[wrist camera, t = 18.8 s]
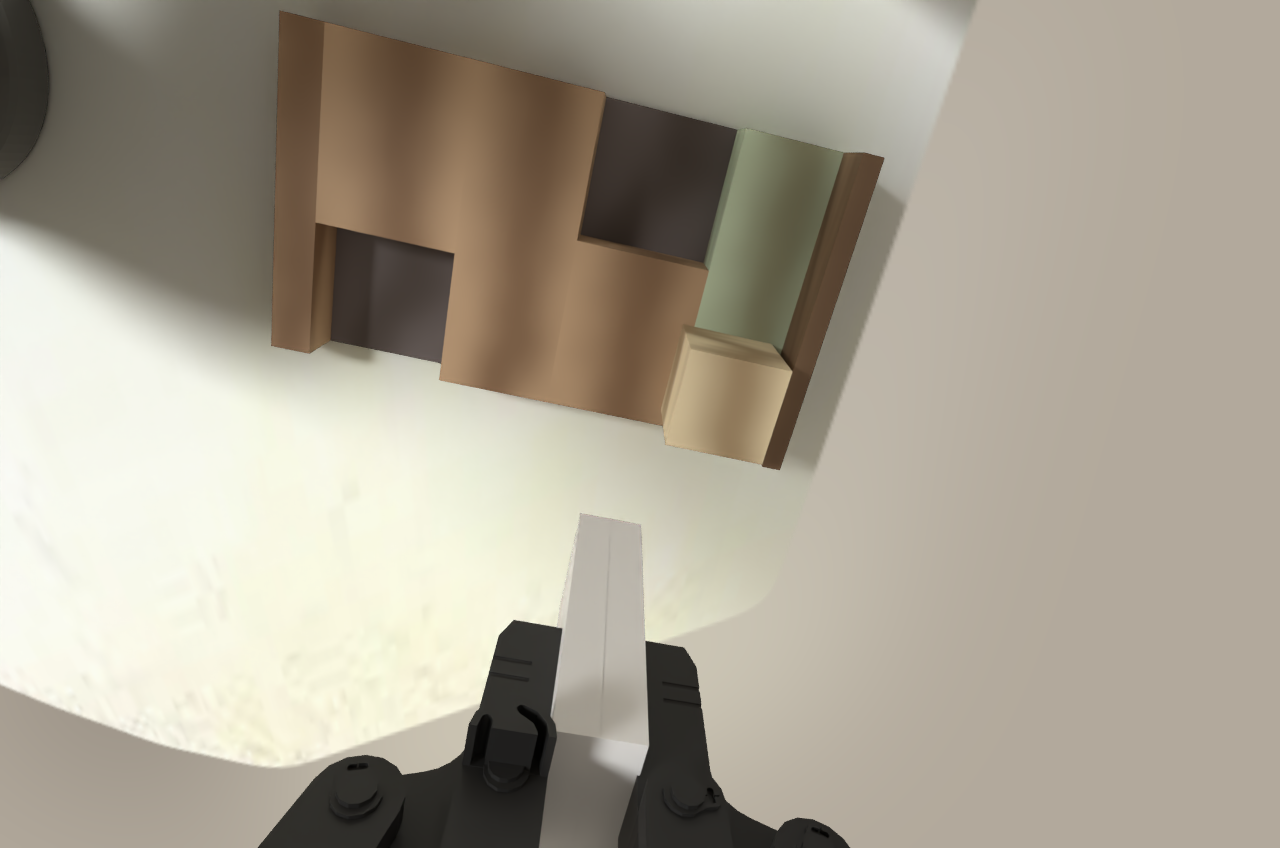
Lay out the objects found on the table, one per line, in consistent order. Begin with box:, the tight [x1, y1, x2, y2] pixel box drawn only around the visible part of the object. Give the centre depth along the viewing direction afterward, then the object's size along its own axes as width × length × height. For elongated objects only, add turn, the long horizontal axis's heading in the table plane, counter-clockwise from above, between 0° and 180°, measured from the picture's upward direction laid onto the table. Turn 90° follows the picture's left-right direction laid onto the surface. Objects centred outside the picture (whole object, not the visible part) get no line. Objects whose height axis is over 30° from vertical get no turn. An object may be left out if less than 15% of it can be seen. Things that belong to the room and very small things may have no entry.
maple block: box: [661, 324, 792, 465], centre depth 35 cm, size 5×5×5 cm
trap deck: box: [271, 11, 884, 470], centre depth 35 cm, size 28×16×6 cm, turn 77°
